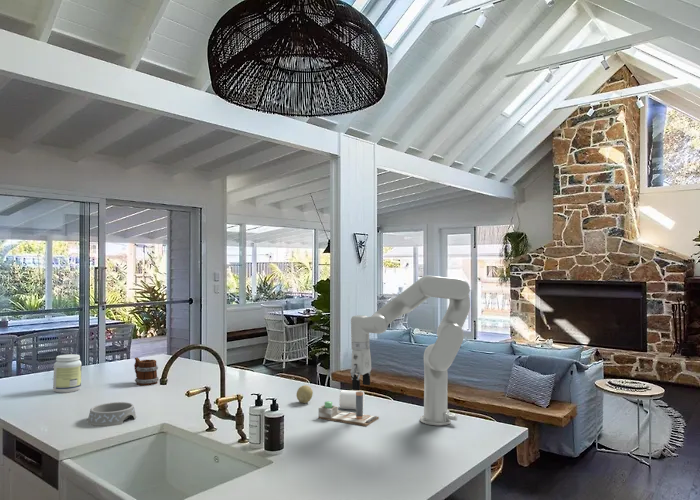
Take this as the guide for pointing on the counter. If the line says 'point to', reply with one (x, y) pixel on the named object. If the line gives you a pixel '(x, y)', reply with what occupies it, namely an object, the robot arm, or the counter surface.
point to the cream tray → (344, 416)
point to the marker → (359, 405)
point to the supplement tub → (67, 373)
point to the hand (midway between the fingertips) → (361, 387)
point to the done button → (328, 404)
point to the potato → (304, 394)
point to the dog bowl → (110, 414)
